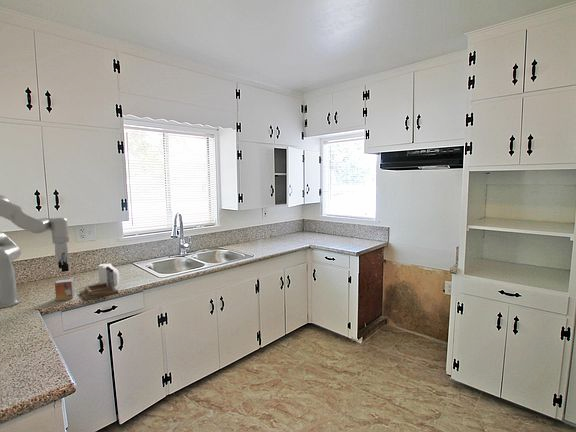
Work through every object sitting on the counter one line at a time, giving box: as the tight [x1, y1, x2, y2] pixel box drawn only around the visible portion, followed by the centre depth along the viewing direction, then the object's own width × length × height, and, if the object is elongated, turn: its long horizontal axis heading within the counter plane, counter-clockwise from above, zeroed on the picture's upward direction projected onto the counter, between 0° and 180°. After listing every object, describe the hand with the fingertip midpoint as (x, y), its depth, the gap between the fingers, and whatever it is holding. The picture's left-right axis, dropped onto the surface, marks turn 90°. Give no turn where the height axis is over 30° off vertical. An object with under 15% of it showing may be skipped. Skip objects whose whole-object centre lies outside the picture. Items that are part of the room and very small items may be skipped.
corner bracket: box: [98, 263, 120, 286], centre depth 210 cm, size 11×11×12 cm
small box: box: [54, 278, 75, 302], centre depth 183 cm, size 8×6×10 cm
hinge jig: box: [79, 267, 119, 301], centre depth 190 cm, size 15×17×14 cm
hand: (63, 269), depth 181 cm, fingers open, 9 cm apart
